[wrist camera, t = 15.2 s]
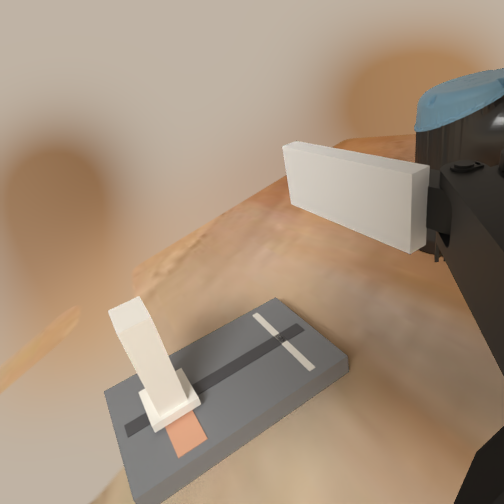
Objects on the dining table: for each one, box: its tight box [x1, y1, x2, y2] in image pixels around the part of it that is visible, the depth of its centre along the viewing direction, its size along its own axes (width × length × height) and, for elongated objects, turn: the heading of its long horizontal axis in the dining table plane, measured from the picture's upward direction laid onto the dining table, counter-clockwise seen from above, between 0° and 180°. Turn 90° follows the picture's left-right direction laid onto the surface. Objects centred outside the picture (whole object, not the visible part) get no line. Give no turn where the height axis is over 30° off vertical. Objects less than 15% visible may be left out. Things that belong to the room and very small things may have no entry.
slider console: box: [104, 297, 349, 504], centre depth 41 cm, size 24×14×3 cm, turn 121°
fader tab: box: [108, 296, 201, 433], centre depth 35 cm, size 5×5×12 cm
